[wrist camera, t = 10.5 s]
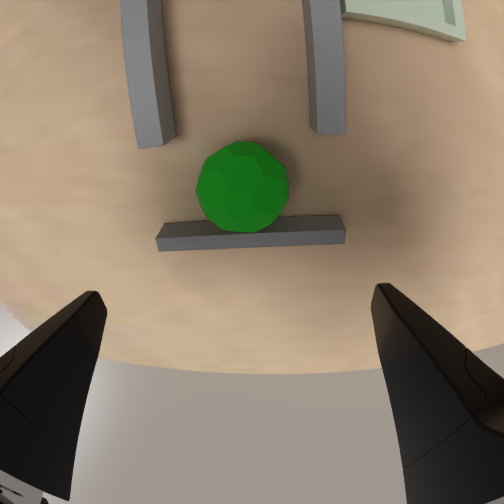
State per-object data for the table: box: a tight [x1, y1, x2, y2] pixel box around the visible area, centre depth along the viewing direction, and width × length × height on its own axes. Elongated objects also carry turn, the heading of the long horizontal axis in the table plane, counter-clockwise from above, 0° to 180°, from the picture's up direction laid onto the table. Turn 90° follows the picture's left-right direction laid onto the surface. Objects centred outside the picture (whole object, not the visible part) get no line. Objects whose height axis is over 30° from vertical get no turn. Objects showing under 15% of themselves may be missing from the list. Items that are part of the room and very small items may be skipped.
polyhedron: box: [196, 141, 288, 233], centre depth 15 cm, size 5×5×5 cm
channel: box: [120, 0, 346, 252], centre depth 14 cm, size 18×12×2 cm
